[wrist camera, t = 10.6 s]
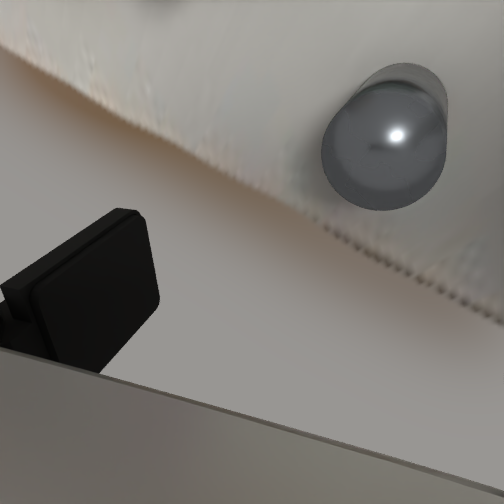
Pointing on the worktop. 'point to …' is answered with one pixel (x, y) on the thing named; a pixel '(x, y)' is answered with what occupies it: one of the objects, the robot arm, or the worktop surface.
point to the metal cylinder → (388, 139)
